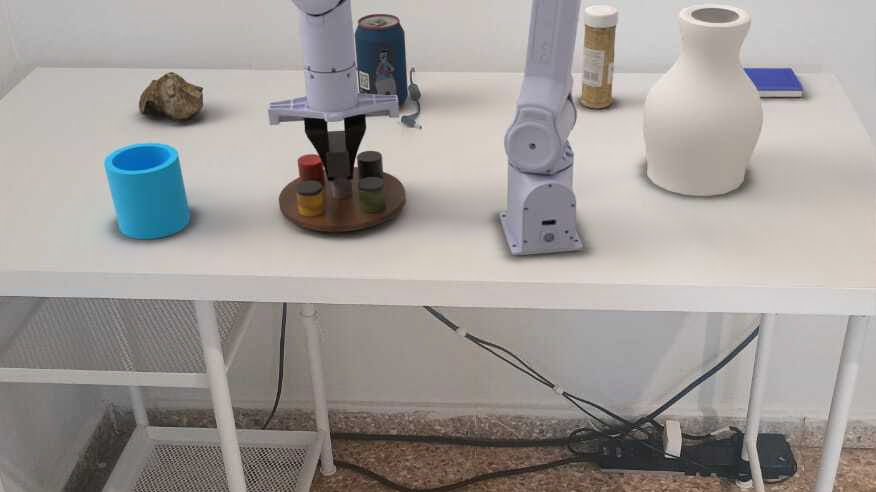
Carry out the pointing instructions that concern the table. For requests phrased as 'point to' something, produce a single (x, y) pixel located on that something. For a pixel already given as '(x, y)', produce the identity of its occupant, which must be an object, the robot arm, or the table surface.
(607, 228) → the table surface
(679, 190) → the vase
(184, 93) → the fossilized seashell
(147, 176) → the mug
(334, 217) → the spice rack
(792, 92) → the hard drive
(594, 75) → the sprinkles bottle
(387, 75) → the soda can
